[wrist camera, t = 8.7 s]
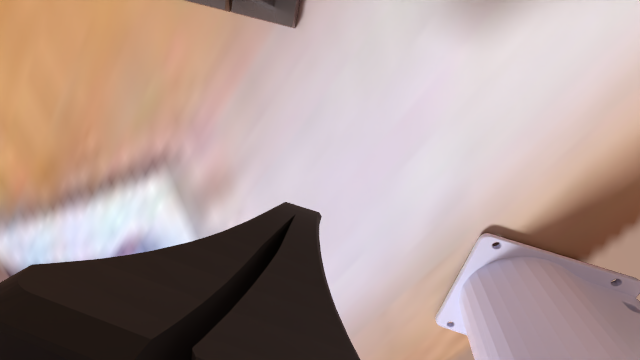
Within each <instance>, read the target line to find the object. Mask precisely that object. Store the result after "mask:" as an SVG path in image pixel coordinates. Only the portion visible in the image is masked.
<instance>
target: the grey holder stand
mask: <svg viewBox="0 0 640 360" xmlns="http://www.w3.org/2000/svg"><path fill="white" fill-rule="evenodd" d="M299 4H300V0H232V9H231V12H233V13H236V14H240V15H244V16H248V17H252V18H256V19H260V20H264V21H268V22H272V23H276V24H280V25H284V26H288V27H292V28H295V26H296V21H297V15H298V9H299Z"/></svg>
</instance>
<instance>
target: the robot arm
mask: <svg viewBox="0 0 640 360" xmlns="http://www.w3.org/2000/svg"><path fill="white" fill-rule="evenodd" d="M320 220H321V215H320V213H319V212H316V211H313V210H309V209H306V208H303V207H300V206H297V205H294V204H290V203H287V202H285V203H283V204H281V205H279V206H277V207H275V208H273V209H271V210H269V211H267V212H265V213H263V214H261V215H259V216H257V217H255V218H253V219H251V220H249V221H247V222H244V223H242V224H240V225H237V226H235V227H232V228H230V229H228V230H225V231H223V232H220V233H217V234H214V235H211V236H208V237H205V238H202V239H198V240H195V241H192V242H188V243H184V244H180V245H176V246H171V247H167V248H162V249H158V250H154V251H149V252H143V253H137V254H131V255H125V256H118V257H111V258H103V259H95V260H84V261H73V262H61V263H50V264H35V265H31V266H29V267H27V268H25V269H23V270H22V271H20V272H18V273H16V274H15V275H13V276H11V277H9V278H8V279H6V280H4V281H2V282H1V283H0V360H360V358H359V356H358V354H357V352H356V350H355V349H354V347H353V345H352V343H351V341H350V339H349V337H348V335H347V332H346V330H345V328H344V326H343V323H342V321H341V319H340V317H339V314H338V312H337V310H336V307H335V305H334V302H333V299H332V296H331V293H330V290H329V287H328V283H327V280H326V276H325V272H324V268H323V263H322V258H321V251H320V242H319V224H320ZM495 242H499V244H498V245H496V246H492V244H493V243H495ZM614 279H616V280H615V281H613V282H611V281H612V280H614ZM639 294H640V281H639V280H638V279H636V278H634V277H630V276H627V275H624V274H621V273H617V272H614V271H611V270H607V269H604V268H601V267H598V266H595V265H591V264H588V263H585V262H582V261H578V260H575V259H572V258H568V257H565V256H562V255H559V254H555V253H552V252H549V251H545V250H542V249H539V248H536V247H532V246H529V245H526V244H523V243H519V242H516V241H513V240H509V239H506V238H503V237H500V236H496V235H493V234H489V233H486V234H482V235H481V236H480V237H479V238H478V240H477V242H476V244H475V246H474V247H473V249H472V251H471V253H470V255H469V257H468V258H467V260H466V262H465V264H464V266H463V267H462V269H461V271H460V273H459V275H458V277H457V278H456V280H455V282H454V284H453V286H452V288H451V289H450V291H449V293H448V295H447V297H446V299H445V300H444V302H443V304H442V306H441V308H440V309H439V311H438V313H437V315H436V322H437V324H438V325H439V326H441V327H444V328H447V329H450V330H453V331H456V332H459V333H462V334H465V335H467V336H468V339H469V343H470V346H471V349H472V353H473V356H474V359H475V360H640V301H639V300H637V299H636V297H637V296H638V295H639ZM448 322H452V323H448Z"/></svg>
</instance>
